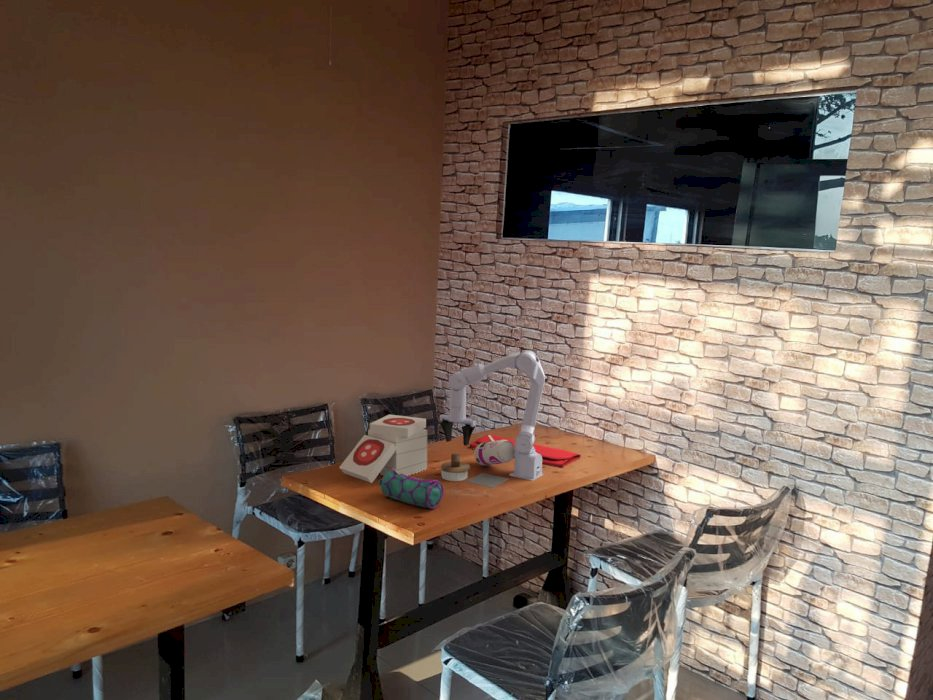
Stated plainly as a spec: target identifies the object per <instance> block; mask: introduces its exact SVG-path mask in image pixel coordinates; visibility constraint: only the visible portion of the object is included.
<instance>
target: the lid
mask: <svg viewBox="0 0 933 700" xmlns="http://www.w3.org/2000/svg"><path fill="white" fill-rule="evenodd" d="M450 457H451V458H450V461H448V462H445V463H442V464H441V465H440V470H441V471H442V470H443V471H445V472H450V473H462V472H466V471H469V470H470V469H471V465H470V464H468V463H467V462H463V461H461V455H460V454H459V453H452V454H451V456H450Z"/></svg>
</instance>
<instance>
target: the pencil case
mask: <svg viewBox="0 0 933 700" xmlns="http://www.w3.org/2000/svg"><path fill="white" fill-rule="evenodd" d="M382 476H383V477H381V478H378V479H377V486H381V487H380V490H381V492H382V494H383V495H384V496H387V497H388V498H390V499H393V500H397V501H399V502H401V503H404V504H408V505H411V504H412V505H411V506H415V505H416V507H421V508H424V509H425V508H428V509H430V510H435V509H436V508H437V507H438V506H439V504H440V502H441V500H442V498H443V496H444V485H443V484H442V482H441V481H439V479H433V478H432V479H429V478H428V479H425V478H418V477H412V476H410V475H409V476H406V475H404V474H402V473H400V472H398V471H397V469H395V468H393V469H391V470H389V471H388V472H386V473H385V474H384V475H382Z"/></svg>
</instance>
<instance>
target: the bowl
mask: <svg viewBox="0 0 933 700" xmlns="http://www.w3.org/2000/svg"><path fill="white" fill-rule="evenodd" d="M468 471H469V470H468ZM468 471H466V472H462V473H450V472H445V471H443V470H442V469H441V478H442V480H444V481H448V482H449V481H450V482H460V481H461V482H462V481H466V480H468Z"/></svg>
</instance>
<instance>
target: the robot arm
mask: <svg viewBox="0 0 933 700" xmlns="http://www.w3.org/2000/svg"><path fill="white" fill-rule="evenodd" d="M506 368H510V369H512V370H513V369H514V370H516V369H518V370H519V371H520V373H523V374H525V375H526V376H527V378H528V379H529V381H530V385H529V389H528V394H527V395H528V396H527V399H526V404H525V407H524V408H525V409H524V414H523V418H522V423H521V426H520V431H519V432H518V434H517V438H516V439H515V440H516V441H515V454H514V458H513V459H514V460H513V461H514V462H513V472H511V473H509V474H508V475H509V476H511V477H514V478H519V479H523V480H527V481H535V480H536V479H538V478H540V477H542V476H544V473H543V464H542V456H541V455H540V454H538V453H536V452H535V449H534V447H533V444H535V441H536V436H535V429H536V423H537V419H538V418H537V417H538V413H539V409H540V403H541V400H542V395H543V389H544V386H545V380H546V374H545V371H544V370H543V367H542V364H541V360H540V358H539V356H537V354H536V353H535V352H534V351H532V350H530V349H525V350H522V351H521V352H520V351H518V352H515V353H511V354H509V355H506V356H503V357H502V358H499V359H496V360H494V361H492V362H489V363H486V364H485V365H484V364H481V363H473V364H472V365H471V366H470V367H467V368H465V369H464V368H461V369H459V371H456V372H454V373H453V374H452V375H451V376H450V377H449V379H448V385H449V387H450V389H449V391H450V393H449V414H440V415H439V421H440V422H439V423H440V424H439V425H440V427H441V428H442V431H443V433H444V434H443V435H444V436H445V437H444V438H445V441H446V442H447V443H448V442H451V441H452V439H453V438H452V437H453V435H452V434H453V433H452V431H453V427H454V424H459V425H462V426H461V431H462V436H463V440H462V441H463V442H462V443H463V446H469V444H470V439H471V436H472V434H473V432H474V430H475V429H476V426H477V420H475V419H471V418H469V417H467V392H466V391H467V386H470V385H473V384H475V383H478V382H481V381H483V380H486V379H487V376H488V375H489V374H491V373H494V372H497V371H500V370H503V369H506ZM466 385H467V386H466Z"/></svg>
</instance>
